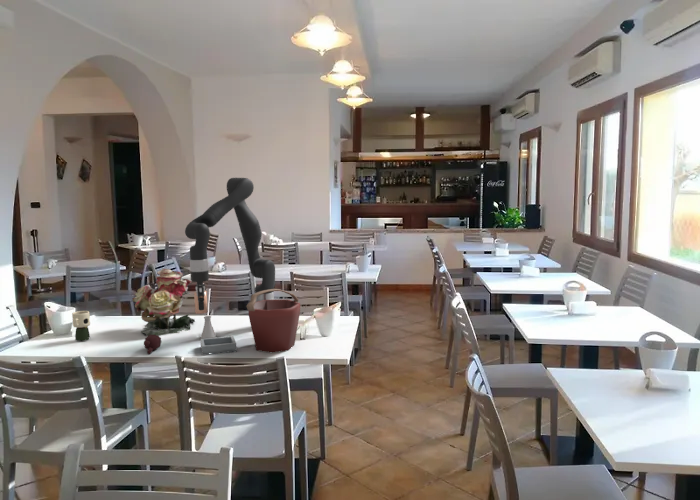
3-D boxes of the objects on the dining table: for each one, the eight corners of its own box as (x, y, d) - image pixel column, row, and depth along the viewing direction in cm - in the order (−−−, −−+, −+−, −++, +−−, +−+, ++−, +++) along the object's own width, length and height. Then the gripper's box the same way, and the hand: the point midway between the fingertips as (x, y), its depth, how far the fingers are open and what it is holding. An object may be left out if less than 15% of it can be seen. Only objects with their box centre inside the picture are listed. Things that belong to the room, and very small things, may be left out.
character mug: (85, 343, 257) (82, 315, 255) (69, 343, 257) (67, 315, 255) (95, 336, 267) (94, 309, 266) (80, 337, 267) (78, 309, 266)
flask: (212, 340, 259) (211, 318, 257) (197, 339, 260) (196, 318, 259) (219, 336, 266) (218, 315, 264) (204, 335, 267) (203, 314, 266)
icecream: (147, 330, 252) (135, 343, 237) (163, 326, 252) (152, 339, 237) (153, 345, 253) (140, 358, 239) (168, 341, 253) (157, 354, 238)
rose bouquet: (134, 326, 287) (131, 267, 283) (194, 320, 296) (192, 263, 292) (132, 339, 262) (128, 274, 259) (198, 333, 272) (195, 270, 268)
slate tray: (233, 343, 252) (233, 336, 252) (236, 351, 241) (236, 343, 241) (200, 346, 248) (200, 339, 248) (202, 354, 237) (201, 346, 237)
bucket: (251, 357, 233) (249, 297, 230) (239, 343, 253) (237, 287, 250) (308, 349, 242) (307, 291, 239) (292, 336, 263) (291, 283, 260)
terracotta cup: (207, 310, 249) (206, 289, 248) (207, 313, 244) (206, 292, 243) (195, 311, 248) (194, 290, 247) (195, 314, 243) (194, 293, 242)
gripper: (208, 271, 238) (211, 311, 240) (207, 266, 252) (209, 304, 254) (190, 272, 236) (192, 313, 238) (190, 267, 250) (192, 305, 252)
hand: (201, 308), depth 246 cm, fingers closed on terracotta cup, 5 cm apart
